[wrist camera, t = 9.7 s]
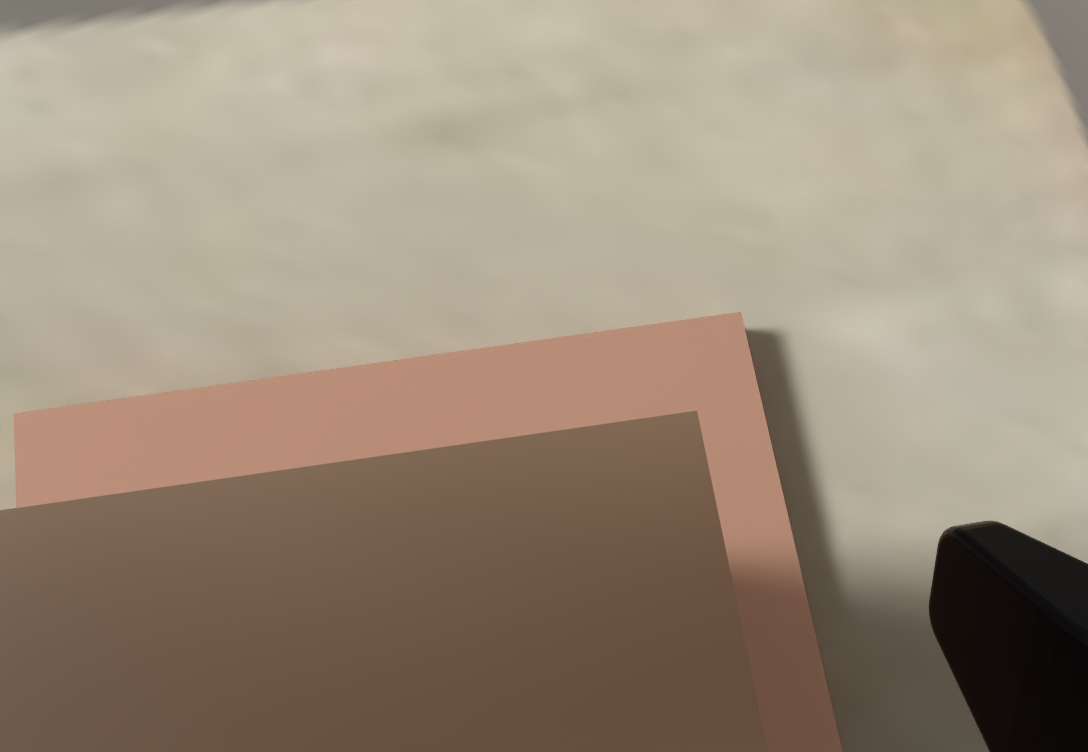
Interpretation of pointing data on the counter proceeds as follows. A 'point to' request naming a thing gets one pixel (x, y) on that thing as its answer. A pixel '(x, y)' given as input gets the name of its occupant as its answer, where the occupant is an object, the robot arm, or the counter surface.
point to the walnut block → (388, 606)
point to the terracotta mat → (473, 416)
